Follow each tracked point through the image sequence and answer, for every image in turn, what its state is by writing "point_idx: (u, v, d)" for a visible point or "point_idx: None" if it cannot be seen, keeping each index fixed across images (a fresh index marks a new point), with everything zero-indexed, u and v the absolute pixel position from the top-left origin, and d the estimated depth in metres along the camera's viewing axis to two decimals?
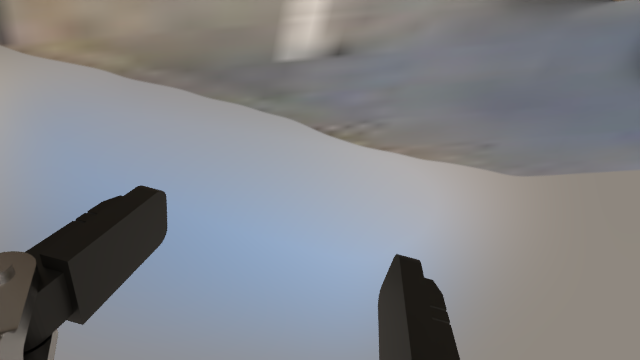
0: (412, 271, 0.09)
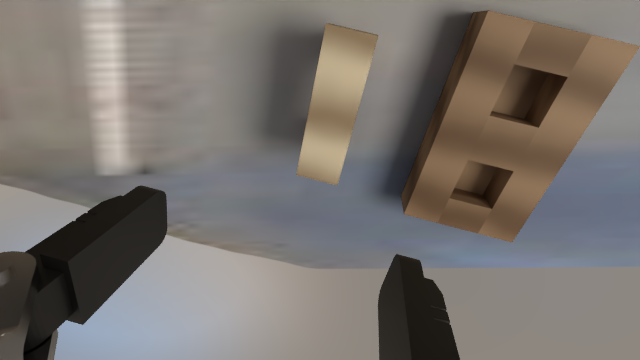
0: (412, 271, 0.09)
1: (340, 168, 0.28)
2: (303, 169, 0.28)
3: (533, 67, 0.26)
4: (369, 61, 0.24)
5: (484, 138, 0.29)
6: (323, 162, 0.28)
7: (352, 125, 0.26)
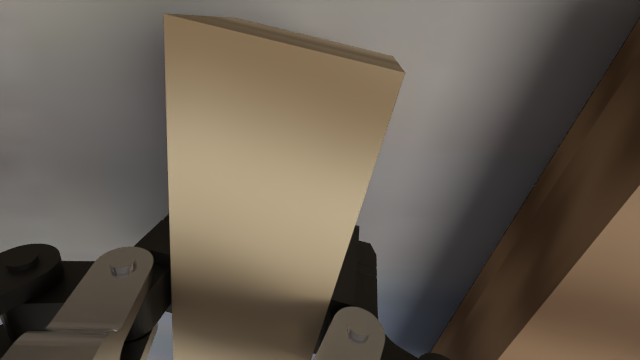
0: None
1: None
2: None
3: None
4: (364, 172, 0.06)
5: None
6: None
7: (311, 344, 0.08)
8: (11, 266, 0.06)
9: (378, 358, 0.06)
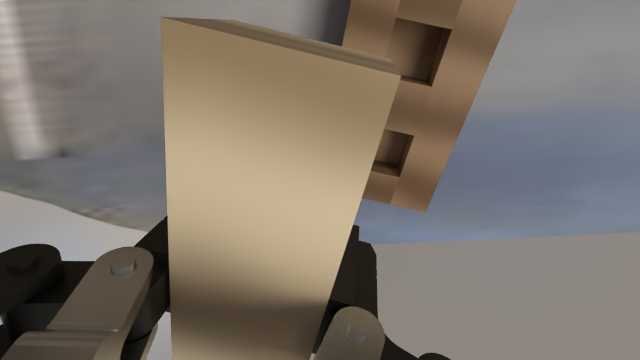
0: None
1: None
2: None
3: (415, 20, 0.24)
4: (361, 174, 0.06)
5: None
6: None
7: (309, 345, 0.08)
8: (11, 266, 0.06)
9: (378, 358, 0.06)
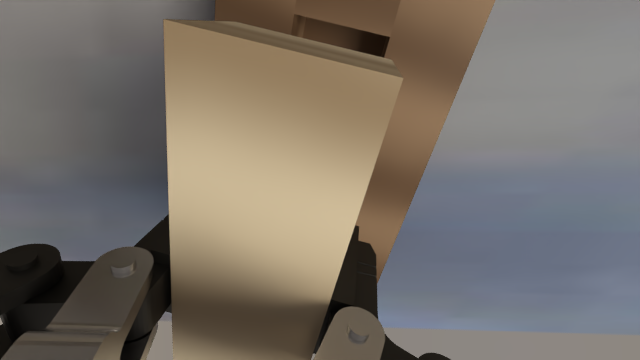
0: None
1: None
2: None
3: (327, 19, 0.14)
4: (363, 176, 0.06)
5: None
6: None
7: (310, 346, 0.08)
8: (11, 266, 0.06)
9: (378, 358, 0.06)
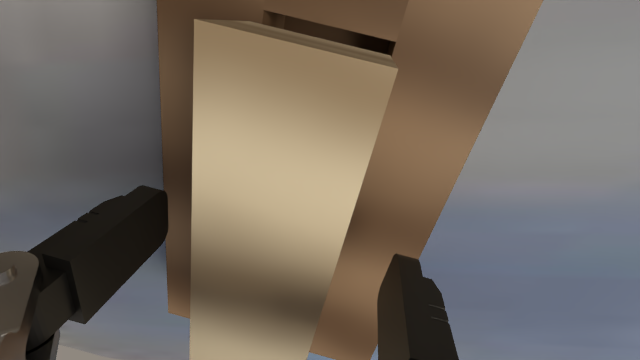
0: (411, 270, 0.09)
1: None
2: None
3: (309, 17, 0.10)
4: (364, 155, 0.07)
5: None
6: None
7: (316, 315, 0.09)
8: None
9: None
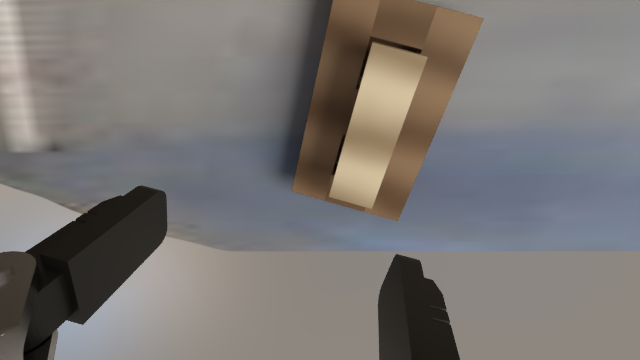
0: (412, 271, 0.09)
1: (376, 191, 0.27)
2: (336, 191, 0.27)
3: (388, 39, 0.26)
4: (416, 83, 0.22)
5: None
6: (358, 184, 0.27)
7: (392, 148, 0.25)
8: None
9: None
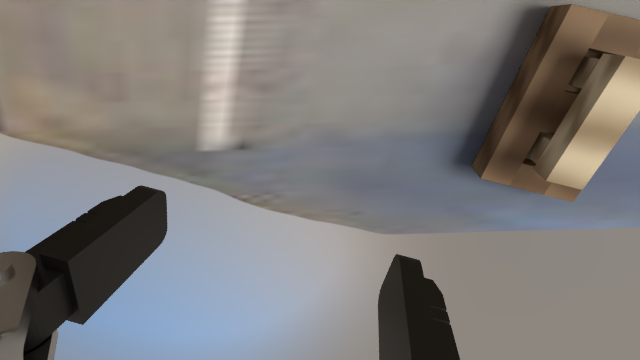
0: (412, 271, 0.09)
1: (591, 175, 0.33)
2: (555, 175, 0.33)
3: (604, 50, 0.32)
4: None
5: (557, 110, 0.35)
6: (576, 169, 0.32)
7: (617, 139, 0.31)
8: None
9: None
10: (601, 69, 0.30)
